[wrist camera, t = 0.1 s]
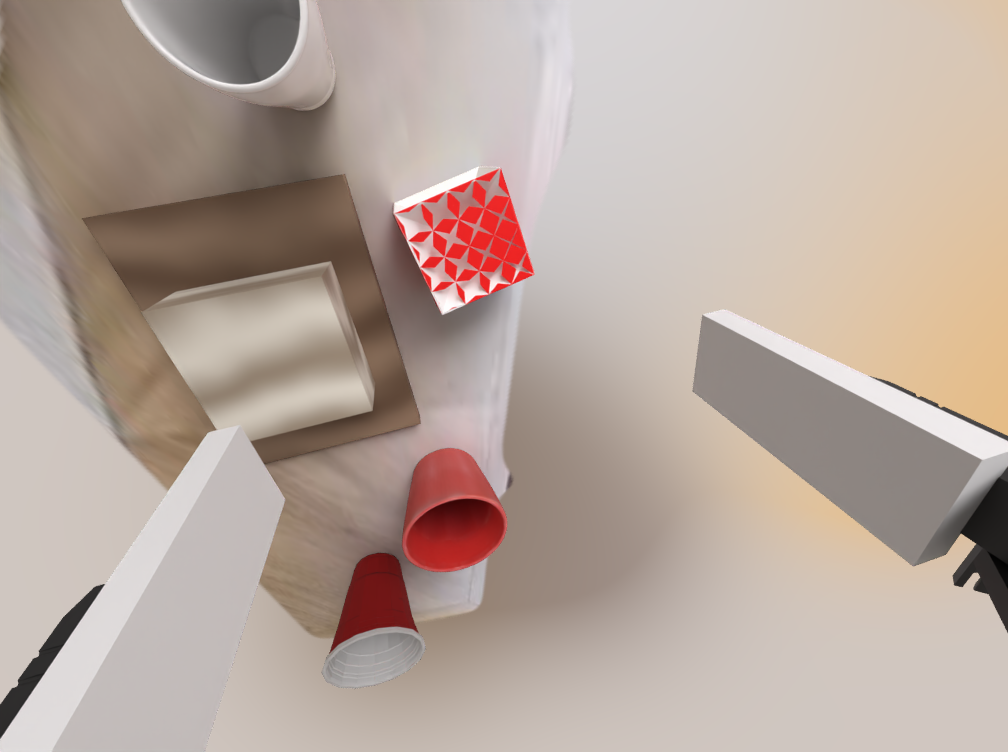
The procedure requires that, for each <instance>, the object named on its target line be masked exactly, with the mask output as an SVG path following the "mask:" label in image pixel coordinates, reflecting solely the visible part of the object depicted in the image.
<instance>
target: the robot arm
mask: <svg viewBox="0 0 1008 752" xmlns="http://www.w3.org/2000/svg"><path fill="white" fill-rule="evenodd" d="M693 392H694V393H695V394H697V395H698V396H699V397H700V398H702V399H703V400H704V401H705V402H707V403H708V404H709V405H710V406H712V407H713V408H714V409H716V410H717V411H718V412H719V413H721V414H722V415H723V416H725V417H726V418H727V419H728V420H729V421H731V422H732V423H733V424H734V425H736V426H737V427H738V428H739V429H741V430H742V431H743V432H745V433H746V434H747V435H748V436H749V437H751V438H752V439H753V440H755V441H756V442H757V443H758V444H760V445H761V446H762V447H763V448H765V449H766V450H767V451H769V452H770V453H771V454H772V455H773V456H775V457H776V458H777V459H778V460H780V461H781V462H782V463H784V464H785V465H786V466H787V467H789V468H790V469H791V470H793V471H794V472H795V473H796V474H797V475H799V476H800V477H801V478H802V479H804V480H805V481H806V482H807V483H809V484H810V485H811V486H813V487H814V488H815V489H816V490H818V491H819V492H820V493H821V494H823V495H824V496H825V497H826V498H828V499H829V500H830V501H831V502H833V503H834V504H835V505H836V506H838V507H839V508H840V509H841V510H843V511H844V512H845V513H847V514H848V515H849V516H850V517H851V518H853V519H854V520H855V521H857V522H858V523H859V524H860V525H862V526H863V527H864V528H865V529H867V530H868V531H869V532H870V533H872V534H873V535H874V536H875V537H877V538H878V539H879V540H881V541H882V542H883V543H884V544H886V545H887V546H888V547H889V548H891V549H892V550H893V551H894V552H896V553H897V554H898V555H899V556H901V557H902V558H903V559H905V560H906V561H907V562H908V563H909V564H911V565H912V566H916V565H919V564H921V563H924V562H927V561H930V560H933V559H935V558H938V557H941V556H944V555H946V554H947V552H948V551H949V549H950V548H951V546H952V545H953V544H954V542H955V541H956V539H957V538H958V537H959V535H960V534H963V535H964V536H966V537H967V538H969V539H970V540H972V541H973V542H975V543H976V545H975V546H974V548H973V549H972V551H971V552H970V553H969V554H968V556H967V557H966V558H965V560H964V561H963V562H962V564H961V565H960V566H959V568H958V569H957V570H956V572H955V573H954V575H953V581H954V585H955V586H959V587H963V586H964V584H965V583H966V582H967V580H968V579H969V578H970V577H971V575H972V574H973V573H978V574H979V575H980V579H979V580H978V581H977V582H976V584H975V586H974V590H975V591H978V592H982V593H987V594H989V596H990V598H991V600H992V602H993V604H994V606H995V608H996V610H997V612H998V614H999V616H1000V618H1001V620H1002V622H1003V624H1004V626H1005V628H1006V630H1007V632H1008V436H1007V435H1004V434H1002V433H1000V432H998V431H995V430H993V429H991V428H989V427H987V426H985V425H983V424H980V423H978V422H976V421H974V420H972V419H970V418H967V417H965V416H963V415H961V414H958V413H957V412H954V411H952V410H950V409H948V408H945V407H942V408H940V407H939V406H938V404H937V403H935V402H932V401H930V400H928V399H926V398H924V397H917V396H916V394H915V393H913V392H911V391H909V390H906V389H904V388H902V387H900V386H898V385H895V384H893V383H891V382H888V381H885V380H881V379H877V378H874V377H871V376H867V375H865V374H863V373H861V372H859V371H857V370H854V369H852V368H850V367H848V366H846V365H844V364H842V363H839V362H837V361H835V360H833V359H831V358H829V357H826V356H824V355H822V354H820V353H818V352H816V351H814V350H812V349H809V348H807V347H805V346H803V345H801V344H799V343H797V342H794V341H792V340H790V339H788V338H786V337H784V336H782V335H779V334H777V333H775V332H773V331H771V330H769V329H766V328H764V327H762V326H760V325H758V324H756V323H754V322H751V321H749V320H747V319H745V318H743V317H741V316H738V315H736V314H734V313H732V312H730V311H728V310H726V309H724V310H720V311H716V312H711V313H707V314H703V315H702V321H701V330H700V337H699V344H698V352H697V360H696V368H695V375H694V383H693ZM284 502H285V498H284V496H283V495H282V493H281V491H280V490H279V488H278V487H277V485H276V483H275V482H274V480H273V478H272V477H271V475H270V473H269V472H268V470H267V468H266V467H265V465H264V463H263V462H262V460H261V458H260V457H259V455H258V454H257V452H256V450H255V449H254V447H253V445H252V444H251V442H250V440H249V439H248V437H247V435H246V434H245V432H244V430H243V429H242V427H241V425H237V426H233V427H229V428H225V429H220V430H216V431H212V432H208V433H207V435H206V436H205V438H204V439H203V441H202V442H201V444H200V445H199V447H198V448H197V450H196V451H195V453H194V454H193V455H192V457H191V458H190V460H189V461H188V463H187V464H186V466H185V467H184V469H183V470H182V472H181V473H180V475H179V476H178V478H177V479H176V481H175V482H174V484H173V485H172V486H171V488H170V489H169V491H168V492H167V494H166V495H165V497H164V498H163V500H162V501H161V503H160V504H159V506H158V507H157V509H156V510H155V512H154V513H153V515H152V516H151V517H150V519H149V521H148V522H147V524H146V525H145V526H144V528H143V529H142V531H141V532H140V534H139V535H138V537H137V538H136V540H135V541H134V543H133V544H132V546H131V547H130V548H129V550H128V551H127V553H126V554H125V556H124V557H123V559H122V560H121V562H120V564H119V565H118V566H117V568H116V569H115V571H114V572H113V574H112V575H111V577H110V578H109V579H108V581H107V583H106V584H103V585H100V586H96V587H94V588H93V589H92V590H91V591H90V592H89V593H88V594H87V595H86V596H85V597H84V598H83V599H82V600H81V601H80V602H79V603H78V604H77V605H76V606H75V607H74V608H72V609H71V610H70V611H69V612H68V613H67V614H66V615H65V616H64V617H63V618H62V620H61V621H60V622H59V624H58V625H57V627H56V628H55V629H54V631H53V632H52V634H51V635H50V636H49V638H48V639H47V641H46V642H45V643H44V645H43V646H42V648H41V649H40V650H39V656H38V657H37V658H34V659H33V660H32V661H31V663H30V664H29V665H28V667H27V668H26V670H25V671H24V672H23V674H22V675H21V677H20V678H19V679H18V686H17V687H15V688H12V689H11V691H10V692H9V693H8V695H7V696H6V698H5V699H4V700H3V702H2V703H1V704H0V752H204V751H205V749H206V746H207V742H208V739H209V736H210V733H211V730H212V727H213V724H214V721H215V717H216V714H217V711H218V708H219V705H220V702H221V699H222V696H223V693H224V689H225V686H226V683H227V680H228V677H229V674H230V671H231V668H232V664H233V661H234V658H235V655H236V652H237V648H238V646H239V643H240V639H241V636H242V633H243V630H244V627H245V624H246V621H247V618H248V614H249V611H250V608H251V605H252V602H253V599H254V596H255V592H256V590H257V587H258V583H259V580H260V577H261V574H262V571H263V568H264V565H265V562H266V558H267V555H268V552H269V549H270V546H271V543H272V540H273V537H274V534H275V530H276V527H277V524H278V521H279V518H280V515H281V512H282V509H283V505H284Z"/></svg>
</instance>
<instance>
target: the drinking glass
mask: <svg viewBox="0 0 1008 752" xmlns="http://www.w3.org/2000/svg"><path fill="white" fill-rule="evenodd" d="M121 2H122V4H123V6H124V8H125V9H126V11H127V13H128V15H129V16H130V18H131V19H132V21H133V22H134V24H135V25H136V27H137V28H138V30H139V31H140V32H141V33H142V35H143V36H144V37H145V38H146V40H147V41H148V42H149V43H150V44H151V45H152V46H153V47H154V48H155V49H156V50H157V51H158V52H159V53H160V54H161V55H162V56H163V57H164V58H165V59H166V60H167V61H169V62H170V63H171V64H172V65H173V66H175V67H176V68H177V69H179V70H180V71H182V72H183V73H185V74H186V75H188V76H189V77H191V78H193V79H195V80H197V81H199V82H200V83H202V84H204V85H206V86H208V87H210V88H212V89H214V90H216V91H218V92H220V93H223V94H225V95H227V96H230V97H232V98H235V99H238V100H241V101H244V102H248V103H252V104H256V105H263V106H274V107H289V108H292V109H295V110H303V111H306V110H313V109H316V108H318V107H320V106H321V105H323V104H324V103H325V102H326V101H327V100H328V99H329V97H330V96H331V94H332V91H333V89H334V85H335V78H336V72H335V64H334V60H333V56H332V54H331V51H330V49H329V47H328V43H327V38H326V33H325V29H324V25H323V21H322V17H321V13H320V10H319V7H318V4H317V1H316V0H121Z"/></svg>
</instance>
